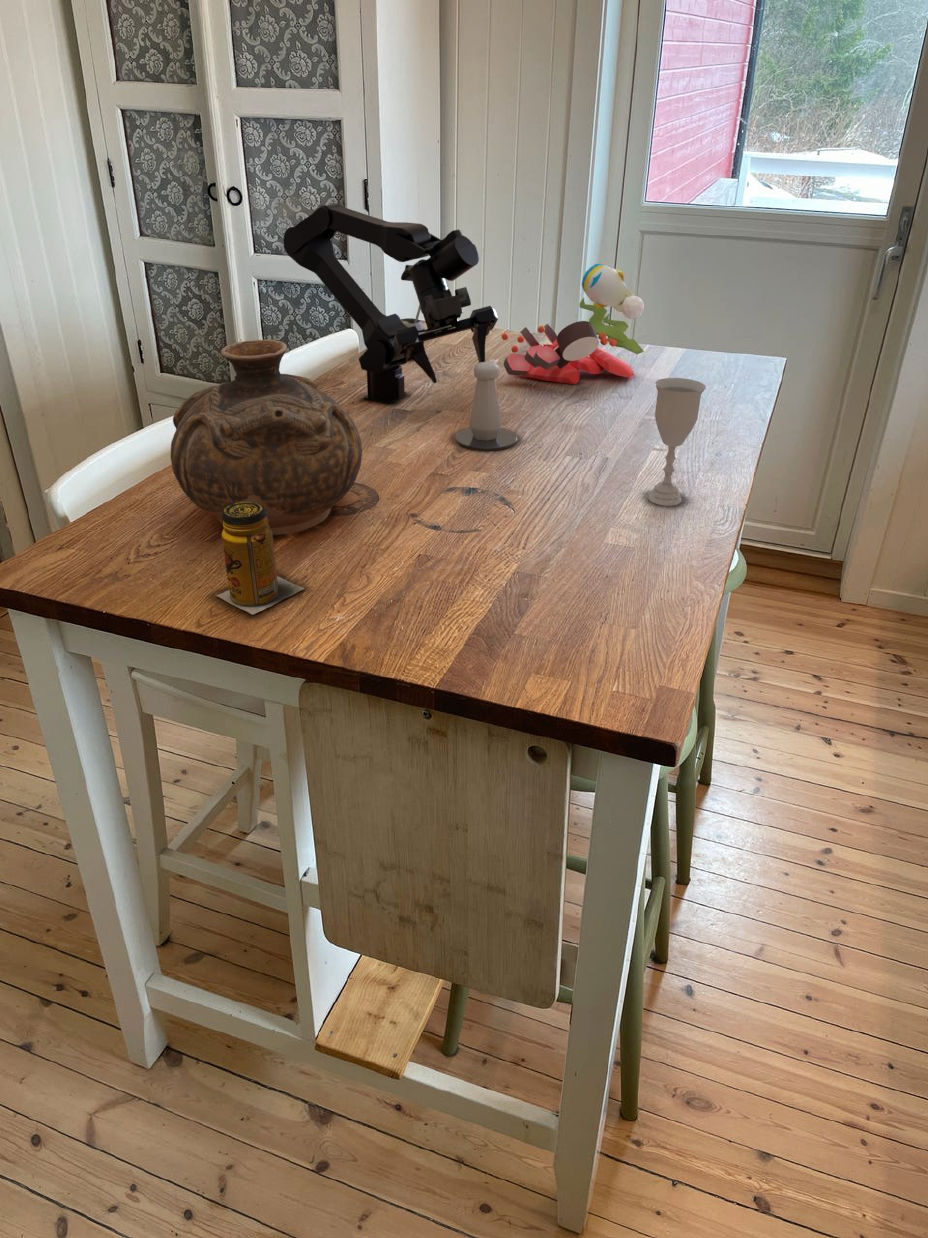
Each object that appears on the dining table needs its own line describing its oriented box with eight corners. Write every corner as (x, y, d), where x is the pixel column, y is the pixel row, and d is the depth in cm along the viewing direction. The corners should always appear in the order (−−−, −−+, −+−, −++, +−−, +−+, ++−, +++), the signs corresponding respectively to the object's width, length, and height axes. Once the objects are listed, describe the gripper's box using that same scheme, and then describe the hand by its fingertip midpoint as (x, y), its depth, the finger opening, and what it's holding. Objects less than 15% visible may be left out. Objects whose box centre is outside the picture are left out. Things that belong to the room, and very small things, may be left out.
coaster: (445, 444, 164) (445, 442, 164) (469, 425, 173) (469, 422, 173) (503, 454, 161) (503, 452, 160) (525, 434, 169) (525, 431, 169)
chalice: (691, 493, 147) (708, 381, 138) (685, 511, 142) (703, 394, 133) (645, 487, 149) (658, 375, 140) (637, 503, 144) (651, 388, 135)
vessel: (287, 573, 123) (257, 384, 111) (142, 533, 136) (101, 361, 124) (406, 500, 143) (392, 333, 130) (269, 471, 156) (244, 317, 143)
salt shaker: (502, 431, 169) (505, 359, 162) (500, 442, 164) (503, 369, 157) (470, 430, 169) (471, 358, 163) (467, 441, 165) (468, 367, 158)
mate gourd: (388, 359, 209) (386, 289, 201) (403, 350, 215) (402, 282, 207) (419, 363, 206) (418, 292, 199) (433, 354, 213) (433, 285, 205)
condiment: (215, 596, 118) (203, 509, 112) (268, 572, 124) (259, 488, 118) (252, 616, 114) (241, 527, 108) (305, 590, 120) (297, 504, 114)
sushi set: (546, 412, 183) (465, 341, 192) (605, 433, 208) (531, 370, 217) (639, 284, 172) (549, 216, 181) (689, 323, 198) (608, 262, 207)
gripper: (386, 287, 159) (415, 375, 159) (489, 261, 162) (517, 346, 162) (382, 312, 170) (408, 394, 170) (478, 287, 173) (504, 367, 173)
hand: (459, 375), depth 169 cm, fingers open, 9 cm apart
